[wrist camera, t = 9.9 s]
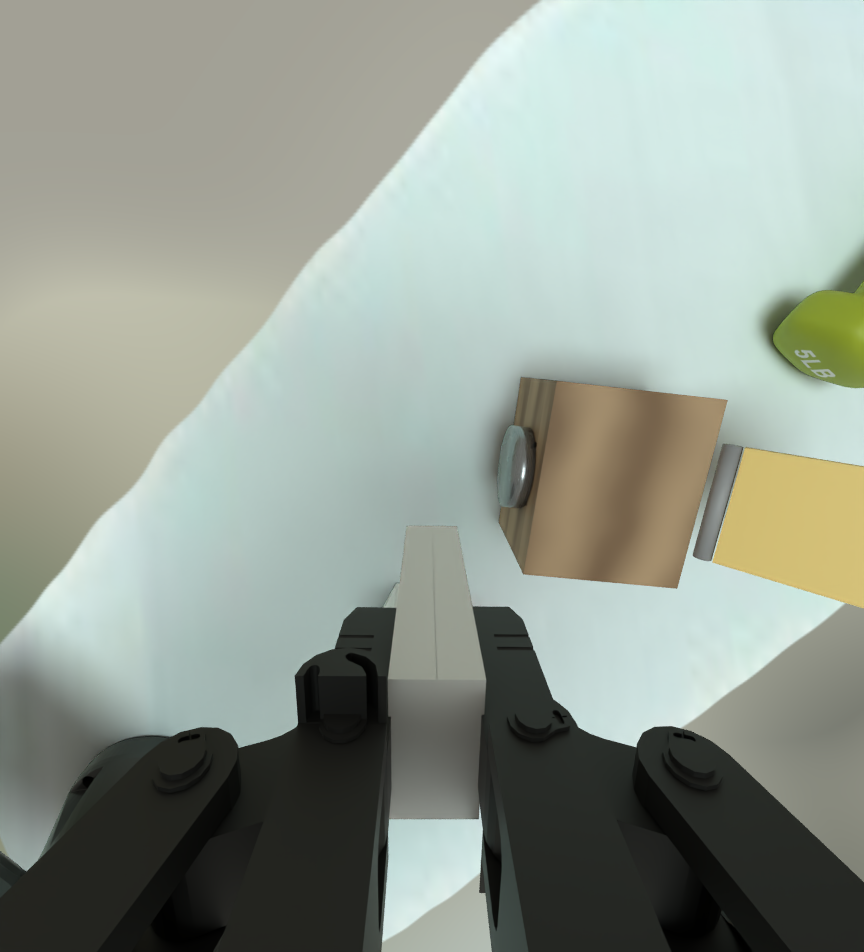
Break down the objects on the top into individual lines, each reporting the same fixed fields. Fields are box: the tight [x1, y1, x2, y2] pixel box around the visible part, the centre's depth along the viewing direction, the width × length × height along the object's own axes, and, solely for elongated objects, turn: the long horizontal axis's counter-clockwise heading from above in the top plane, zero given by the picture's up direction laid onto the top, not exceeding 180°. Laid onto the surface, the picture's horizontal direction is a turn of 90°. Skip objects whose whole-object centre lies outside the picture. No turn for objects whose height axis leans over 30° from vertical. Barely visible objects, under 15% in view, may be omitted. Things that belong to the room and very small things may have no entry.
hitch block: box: [499, 377, 727, 588], centre depth 31 cm, size 10×12×10 cm
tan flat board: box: [693, 444, 864, 608], centre depth 23 cm, size 11×7×1 cm
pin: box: [497, 425, 536, 508], centre depth 30 cm, size 12×6×6 cm, turn 84°
